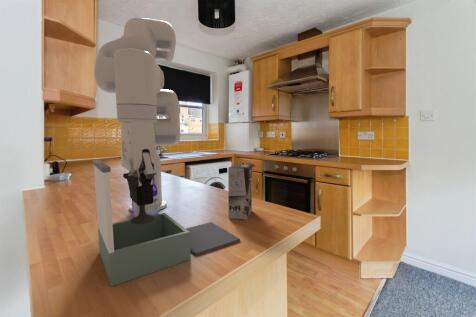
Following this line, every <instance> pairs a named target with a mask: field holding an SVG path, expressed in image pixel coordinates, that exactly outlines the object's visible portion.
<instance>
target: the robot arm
mask: <svg viewBox="0 0 476 317" xmlns="http://www.w3.org/2000/svg"><path fill="white" fill-rule="evenodd" d="M176 37H177V36H176V33H175V29H174V27H173V25H172V24H171V23H170V22H168V21H165V20H161V19H160V20H159V19H152V18H145V17H131V18H130V19H128V20H127V21H126V23H125V25H124V29H123V35H121V37H119V38H116V39H114V40H110V41H108V42H105V43H104V44H102V46H100V48H99V49H98V52H97V56H96V59H95V63H94V69H93V70H94V71H93V72H94V79H95V82H96V84H97V86H98V88H100V89H101V91H103V92H106V93H110V94H115V105H116V122H119V123H121V127H120V150H121V151H120V155H121V156H120V163H121V167H123V168H124V169H125V170H127V171H128V172H129V171H130V172H132V173H133V172H135V170H136V177H137V185H138V186H136V200H137V205H138V206H142V205H147V204H152V203H153V179H152V178H153V177H152V176H153V174H154V173H157V174H156V175H154V179H155V180H154V183H155V185H156V187H157V191H158V211H160V210H162V209H164V208H166V207H167V201H165V200H164V199H163V194H162V193H163V192H162V191H163V190H162V161H161V157H160V154H159V153H158V152H157V148H156V146H159V147H160V146H176V145H178V144H179V143H180V140H181V124H180V123H181V120H180V105H179V99H178V96H177V94H176V92H175V91H173V90H171V89H170V90H169V89H164V86H165V75H164V71H163V70H162V69H161V67H160V66H159V64H158V63H161V64H170V63H171V62H172V61H173V59H174V57H175V50H176V44H177V43H176V42H177V38H176ZM158 117H164V118H158ZM139 168H144V170H141V171H139ZM140 174H144V175H142V176H141V175H140ZM129 198H130V199H131V200H132V198H131V195H130V194H129ZM128 208H129V211H130V212H133V209H132V203H130V204H129V207H128Z"/></svg>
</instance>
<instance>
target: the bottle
mask: <svg viewBox="0 0 476 317" xmlns="http://www.w3.org/2000/svg"><path fill="white" fill-rule="evenodd" d="M154 180H155V179H153V203H152V204H147V205H145V211H146V214H147V215H157V214H160V213H159V211H160V210H158V191H157V187H156V185H155V183H154ZM131 204H132V209H133V211H132V218H134V217H136V216H138V215H139V206H138V205H137V204H136V203H135V202H134V201H133V200H132V199H131Z"/></svg>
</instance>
